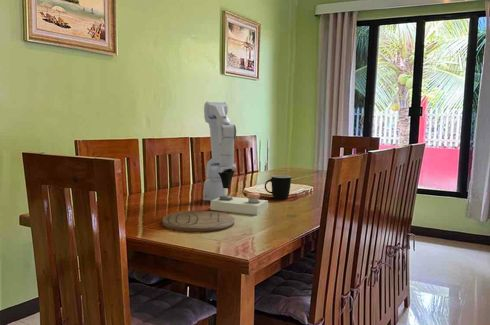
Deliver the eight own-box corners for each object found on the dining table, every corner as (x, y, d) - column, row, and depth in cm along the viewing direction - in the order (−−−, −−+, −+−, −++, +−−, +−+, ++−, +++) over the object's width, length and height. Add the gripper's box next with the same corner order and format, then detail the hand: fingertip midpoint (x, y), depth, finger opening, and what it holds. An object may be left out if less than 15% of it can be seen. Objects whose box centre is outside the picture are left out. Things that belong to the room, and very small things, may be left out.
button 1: (217, 205, 179) (217, 196, 178) (222, 203, 184) (222, 194, 183) (229, 206, 177) (229, 198, 176) (234, 204, 182) (234, 195, 181)
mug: (290, 196, 208) (290, 175, 207) (290, 200, 200) (291, 178, 198) (264, 195, 209) (265, 174, 208) (263, 199, 200) (264, 177, 199)
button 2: (244, 203, 174) (245, 194, 174) (249, 200, 179) (249, 192, 179) (257, 204, 172) (257, 195, 172) (261, 202, 177) (262, 193, 177)
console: (210, 209, 176) (210, 201, 176) (223, 204, 187) (223, 196, 187) (257, 214, 169) (257, 205, 169) (267, 209, 180) (267, 200, 180)
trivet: (229, 215, 169) (229, 210, 169) (239, 232, 145) (239, 227, 144) (162, 216, 165) (162, 211, 165) (161, 234, 140) (161, 228, 140)
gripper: (228, 157, 170) (227, 191, 171) (242, 153, 183) (242, 186, 185) (211, 155, 172) (211, 190, 174) (227, 152, 186) (226, 184, 187)
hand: (226, 188), depth 180 cm, fingers closed
